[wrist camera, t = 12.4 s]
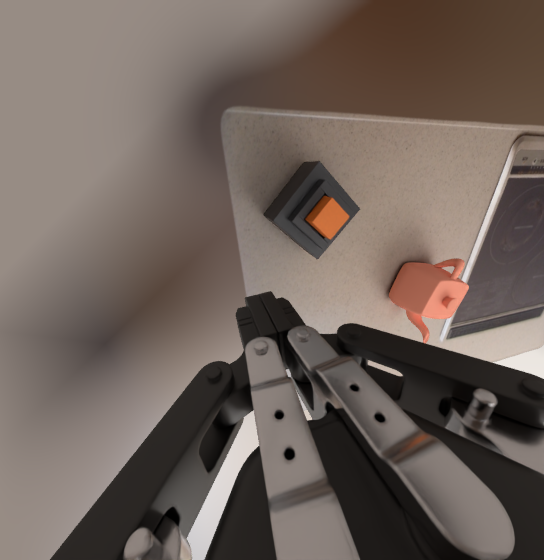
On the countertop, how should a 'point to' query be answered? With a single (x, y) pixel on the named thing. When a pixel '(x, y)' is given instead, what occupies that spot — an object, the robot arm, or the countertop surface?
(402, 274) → the teapot
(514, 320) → the countertop surface
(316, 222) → the key
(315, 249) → the push button box
